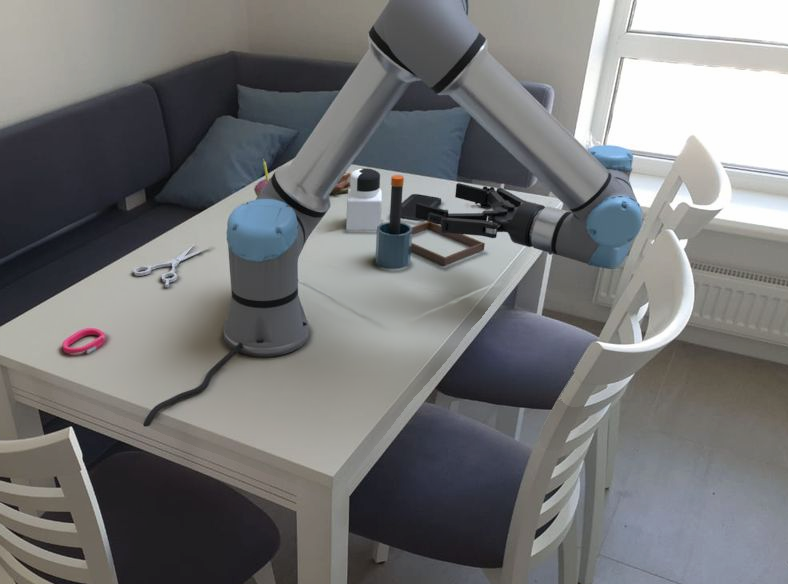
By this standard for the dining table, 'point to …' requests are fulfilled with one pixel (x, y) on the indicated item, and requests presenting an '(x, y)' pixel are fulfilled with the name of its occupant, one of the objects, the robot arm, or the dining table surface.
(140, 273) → the scissors
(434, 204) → the phone
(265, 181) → the cupcake
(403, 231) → the pen cup
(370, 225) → the container
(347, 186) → the toy sandwich meal
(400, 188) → the marker
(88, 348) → the fitness band
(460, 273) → the dining table surface
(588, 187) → the robot arm
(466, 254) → the tray
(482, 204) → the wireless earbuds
